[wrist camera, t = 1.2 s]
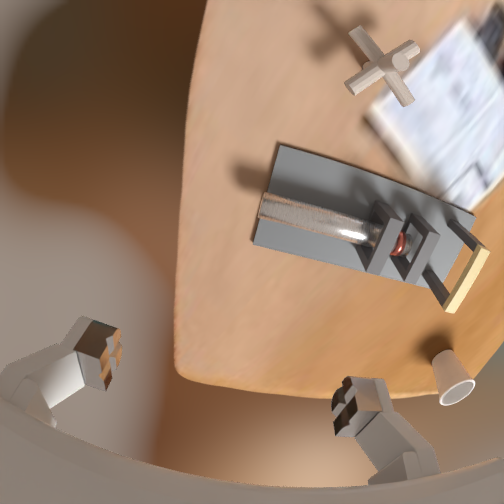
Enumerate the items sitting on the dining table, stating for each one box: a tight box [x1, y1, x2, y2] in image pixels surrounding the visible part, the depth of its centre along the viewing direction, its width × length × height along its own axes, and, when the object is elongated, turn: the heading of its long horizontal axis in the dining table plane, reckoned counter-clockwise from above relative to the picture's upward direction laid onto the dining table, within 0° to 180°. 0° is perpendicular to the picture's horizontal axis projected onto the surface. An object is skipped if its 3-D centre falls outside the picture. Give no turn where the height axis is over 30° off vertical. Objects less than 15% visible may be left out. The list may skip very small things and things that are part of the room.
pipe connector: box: [344, 25, 420, 107], centre depth 25 cm, size 10×10×10 cm
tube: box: [258, 192, 412, 257], centre depth 36 cm, size 4×20×4 cm, turn 76°
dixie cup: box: [432, 350, 475, 405], centre depth 49 cm, size 8×8×10 cm
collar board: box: [253, 145, 490, 313], centre depth 36 cm, size 14×32×10 cm, turn 76°
